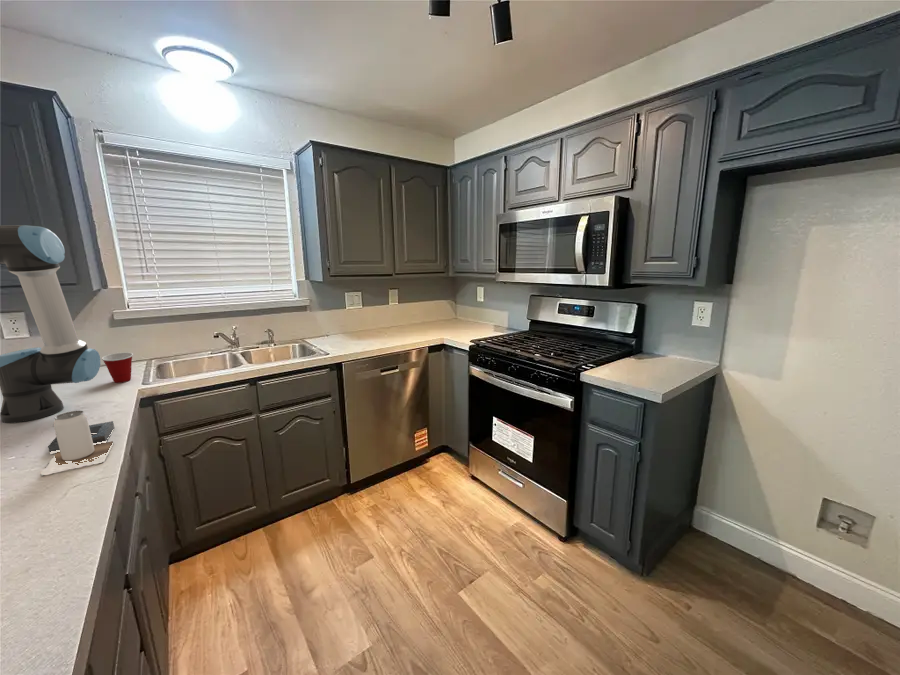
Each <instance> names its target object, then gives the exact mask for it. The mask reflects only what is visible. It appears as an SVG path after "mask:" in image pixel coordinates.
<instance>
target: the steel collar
mask: <svg viewBox="0 0 900 675" xmlns="http://www.w3.org/2000/svg"><path fill="white" fill-rule="evenodd" d="M89 428H90V432H91V433H97V434H94V435H91V436H92V441H93V443H97V442H102V441H106V440H107V438H108V437H109V435H110V434H111V432H112V430H113V429H114V430H115V424H114V421H113V420H111V421H107V422H105V421H104V422H101V423H94V424H89ZM114 430H113V431H114ZM112 433H113V432H112ZM111 435H112V434H111ZM111 435H110V436H111ZM109 438H110V437H109ZM47 448H48V451H49V452H51V451H56V450H60V449H59V445H58V441H57V437H56V436H55V438H54V439H53V440H52V441H51V442H50V444H48V446H47Z"/></svg>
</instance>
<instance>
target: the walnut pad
mask: <svg viewBox="0 0 900 675" xmlns="http://www.w3.org/2000/svg"><path fill="white" fill-rule="evenodd" d="M112 443H113V444H114V441H113V440H112V441H107V442H106V443H101V444H96V445H94V452H93V453H92V454H91V455H89V456H87V457H85V458H82V459H78V460H74V461H72V463H73V462H78V463H83V462H80V461H82V460H84V459H86V460H87V459H88V461H89V462H92V461H94V459H92V458H94V457H98V456H100V455H102V454H104V453H107V452H108V450H109V448H110V446H111V445H112ZM105 455H106V454H105ZM53 456H55V458H56V461H55V462H56V463H58V465H62V464H68V463H66V462H65V460H63V459H62V456H61V453H60V452H57V453H56V454H53ZM98 458H99V457H98ZM90 459H91V460H90ZM95 459H97V458H95ZM84 462H87V461H84ZM59 463H60V464H59ZM78 463H75V464H77V465H79V464H78Z"/></svg>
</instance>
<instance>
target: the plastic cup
mask: <svg viewBox="0 0 900 675" xmlns="http://www.w3.org/2000/svg"><path fill="white" fill-rule="evenodd" d="M133 357H134V353H133V352H115V353H110V354H107V355H106V354H105V355H104V356H102V357H100V360H101V361H103V363H104V365H105V366H106V368H107V370H108V372H109V375H110V376H111V379H112V381H113V382H114V383H115V384H121V383H126V382H129V381H131V380H132V363H133V362H132V360H133Z"/></svg>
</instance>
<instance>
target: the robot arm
mask: <svg viewBox="0 0 900 675" xmlns="http://www.w3.org/2000/svg"><path fill="white" fill-rule="evenodd" d="M65 253H66V251H65V246H64V245H63V242H62V241H61V239H60V238H59V237H58V236H57V234H56V233H55V232H53V231H51V230H50V229H49V228H46V227H43V226H38V225H37V226H36V225H29V224H28V225H27V224H26V225H25V224H23V225H21V224H20V225H19V224H18V225H17V224H15V225H0V265H5V266H6V268H7V270H8V272H9V273H11V274H13V275H15V276H17V278H18V280H19V282H20V285H21V287H22V290H23V294H24V296H25V299H26V301H27V303H28V307H29V309H30V311H31V314H32V316H33V318H34V321H35V324H36V326H37V329H38V332H39V335H40V337H41V341H42V342H43V346H42V347H40V346H39V347H38V346H37V347H31V348H25V349H21V350H15V351H11V352H7V353H3V354H0V392H1V395H2V403H1V408H0V421H1V423H4V422H5V423H6V424H11V423H12V424H15V423H14V422H16V423H22V421H24V422H29V421H32V420H33V421H34V420H38V419H41V418H42V419H43V418H45V417H49V416H52V415H55V414H57V413H60V412H61V411H63V410H64V408H65V407H64V403H63V401H62V400H61V399H60V397H59V396H58V394H57V393H56V392H55V391H54V390H53V388H52V385H60V384H63V385H64V384H73V383H74V384H77V383H83V382H89V381H91V380H93V379H94V378H95V377H96V376H97V375H98V373H99V371H100V367H101V355H100V353H99V352H98V350H96V349H94V348H92V347H91V348H89V347H88V344H87V342H86V341H85V340H83V339H79V336H78V333H77V331H76V328H75V325H74V322H73V319H72V315H71V312H70V310H69V306H68V304H67V301H66V298H65V295H64V293H63V290H62V286H61V284H60V281H59V278H58V275H57V271H59V270H60V268H61V266H60V263H62V262H64V260H65V258H66V255H65Z"/></svg>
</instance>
